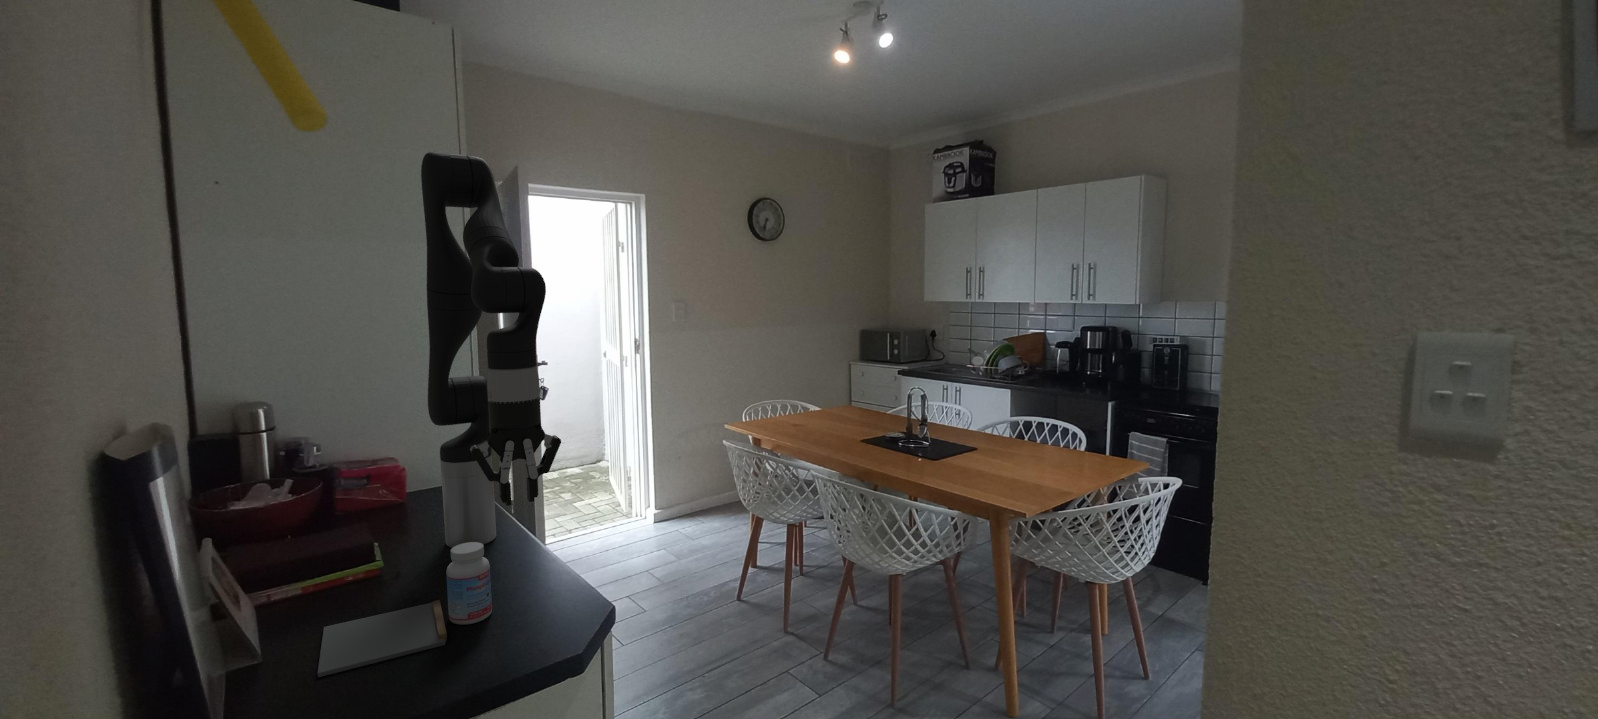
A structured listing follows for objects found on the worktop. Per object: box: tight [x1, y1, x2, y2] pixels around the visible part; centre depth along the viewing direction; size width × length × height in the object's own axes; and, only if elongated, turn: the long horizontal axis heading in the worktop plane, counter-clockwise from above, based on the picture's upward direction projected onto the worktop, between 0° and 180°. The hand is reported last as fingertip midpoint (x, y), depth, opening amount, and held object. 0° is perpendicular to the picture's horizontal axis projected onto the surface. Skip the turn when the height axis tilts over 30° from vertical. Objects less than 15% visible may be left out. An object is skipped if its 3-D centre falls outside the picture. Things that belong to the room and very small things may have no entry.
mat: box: [317, 602, 446, 678], centre depth 98 cm, size 14×15×1 cm
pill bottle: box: [446, 542, 493, 625], centre depth 104 cm, size 6×6×11 cm
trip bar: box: [432, 599, 448, 642], centre depth 102 cm, size 12×1×1 cm, turn 32°
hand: (519, 501), depth 107 cm, fingers open, 3 cm apart
